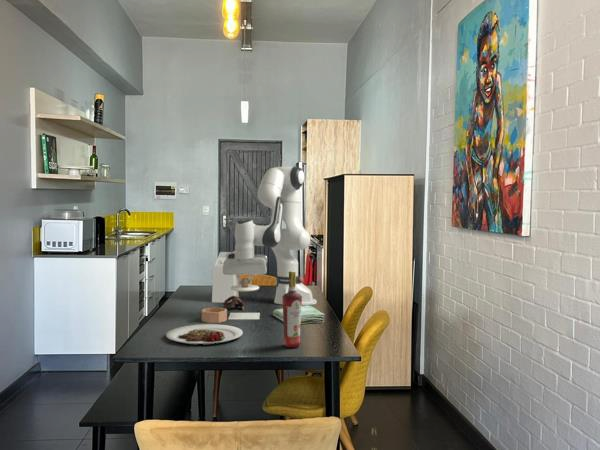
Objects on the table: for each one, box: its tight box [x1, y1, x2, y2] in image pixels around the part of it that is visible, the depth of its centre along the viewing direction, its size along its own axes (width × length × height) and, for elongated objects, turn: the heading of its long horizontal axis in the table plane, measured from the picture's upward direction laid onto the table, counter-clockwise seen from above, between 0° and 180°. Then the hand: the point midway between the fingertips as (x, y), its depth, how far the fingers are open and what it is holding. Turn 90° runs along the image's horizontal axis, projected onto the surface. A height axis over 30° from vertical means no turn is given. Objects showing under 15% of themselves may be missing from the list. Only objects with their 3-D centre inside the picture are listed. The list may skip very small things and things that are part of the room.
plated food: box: [165, 323, 244, 345], centre depth 224 cm, size 30×30×3 cm
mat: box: [227, 312, 261, 320], centre depth 261 cm, size 14×14×1 cm
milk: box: [211, 251, 240, 304], centre depth 301 cm, size 12×12×26 cm
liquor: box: [282, 271, 303, 349], centre depth 210 cm, size 7×7×28 cm
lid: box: [231, 277, 260, 292], centre depth 260 cm, size 13×13×5 cm
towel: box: [272, 305, 325, 325], centre depth 257 cm, size 18×21×5 cm
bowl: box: [201, 307, 228, 324], centre depth 252 cm, size 11×11×5 cm
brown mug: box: [222, 296, 245, 311], centre depth 277 cm, size 12×10×8 cm
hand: (245, 284), depth 260 cm, fingers closed on lid, 3 cm apart
